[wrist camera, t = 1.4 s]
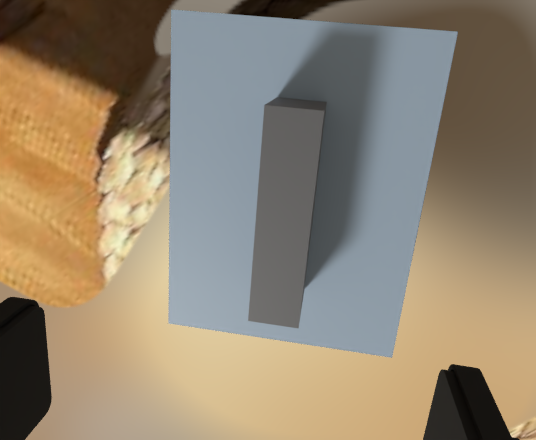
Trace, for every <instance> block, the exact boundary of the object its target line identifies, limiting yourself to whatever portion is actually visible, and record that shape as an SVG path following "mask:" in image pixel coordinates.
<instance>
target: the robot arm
mask: <svg viewBox="0 0 536 440" xmlns="http://www.w3.org/2000/svg"><path fill="white" fill-rule="evenodd" d="M45 327H46V326H45V315H44V310H43V309H42V308H41V307H39V305H38V303H37V302H36V301H35V300H30V299H24V298H17V297H10V298H7V299H6V300H4V301H3V302H2V303H0V440H25V439H26V437H27V436H28V435H29V434H30V433H31V432H32V430H33V429H34V428H35V427H36V426H37V424H38V423H39V422H40V421H41V420H42V418H43V417H44V416H45V415H46V413H47V412H48V410H49V407H50V404H51V385H50V374H49V362H48V350H47V339H46V328H45ZM423 440H519V439H518V438H512V437H511V435H510V433H509V431H508V429H507V426H506V424H505V422H504V420H503V418H502V416H501V413H500V411H499V409H498V407H497V405H496V403H495V400H494V398H493V396H492V394H491V392H490V390H489V388H488V385H487V383H486V381H485V379H484V377H483V375H482V372H481V371H480V369H478V368H473V367H466V366H460V365H454V364H452V365H450V367H449V369H448V370H441V371H440V373H439V376H438V380H437V384H436V388H435V392H434V396H433V401H432V405H431V409H430V413H429V417H428V421H427V426H426V430H425V434H424V438H423Z"/></svg>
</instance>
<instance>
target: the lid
mask: <svg viewBox="0 0 536 440" xmlns="http://www.w3.org/2000/svg"><path fill="white" fill-rule="evenodd" d="M457 34H458V32H456V31H441V30H430V29H417V28H403V27H390V26H378V25H365V24H364V25H363V24H352V23H339V22H325V21H312V20H300V19H287V18H274V17H261V16H248V15H235V14H222V13H208V12H196V11H183V10H182V11H181V10H171V112H170V220H169V221H170V222H169V323H170V324H177V325H183V326H189V327H196V328H202V329H209V330H215V331H222V332H228V333H235V334H242V335H248V336H255V337H261V338H267V339H274V340H281V341H287V342H294V343H300V344H307V345H313V346H320V347H326V348H333V349H339V350H346V351H353V352H359V353H366V354H372V355H378V356H385V357H392V355H393V350H394V345H395V340H396V335H397V330H398V326H399V320H400V316H401V311H402V305H403V300H404V296H405V291H406V286H407V280H408V276H409V271H410V266H411V261H412V256H413V251H414V246H415V242H416V237H417V232H418V227H419V222H420V217H421V212H422V207H423V202H424V196H425V192H426V187H427V182H428V177H429V172H430V167H431V162H432V157H433V152H434V148H435V142H436V137H437V133H438V127H439V123H440V117H441V113H442V108H443V103H444V98H445V93H446V88H447V83H448V78H449V73H450V69H451V64H452V59H453V53H454V49H455V44H456V39H457Z"/></svg>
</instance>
